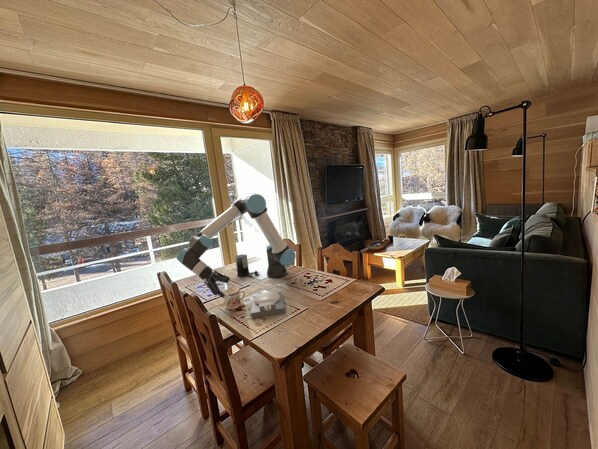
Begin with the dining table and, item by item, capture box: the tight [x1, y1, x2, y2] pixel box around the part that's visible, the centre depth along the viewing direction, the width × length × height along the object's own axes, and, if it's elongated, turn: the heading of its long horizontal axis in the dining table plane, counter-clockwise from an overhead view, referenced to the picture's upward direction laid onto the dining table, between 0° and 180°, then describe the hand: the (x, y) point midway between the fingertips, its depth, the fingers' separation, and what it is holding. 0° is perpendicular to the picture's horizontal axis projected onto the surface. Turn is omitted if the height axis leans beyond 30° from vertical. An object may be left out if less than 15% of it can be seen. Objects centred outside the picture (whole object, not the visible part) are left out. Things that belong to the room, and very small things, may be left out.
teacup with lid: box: [223, 286, 246, 310], centre depth 142 cm, size 12×9×12 cm
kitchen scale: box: [250, 291, 286, 319], centre depth 137 cm, size 20×17×6 cm
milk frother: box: [234, 254, 260, 278], centre depth 191 cm, size 14×16×15 cm
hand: (233, 294), depth 142 cm, fingers open, 13 cm apart
